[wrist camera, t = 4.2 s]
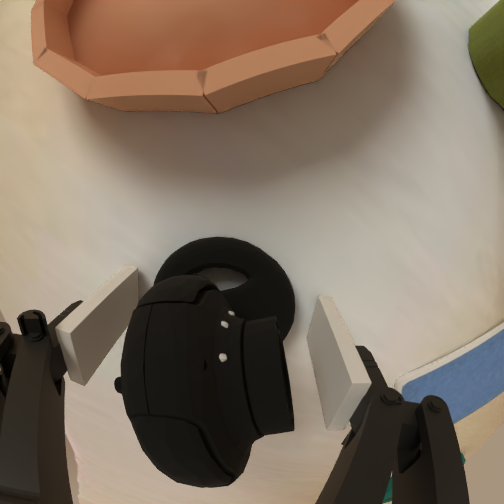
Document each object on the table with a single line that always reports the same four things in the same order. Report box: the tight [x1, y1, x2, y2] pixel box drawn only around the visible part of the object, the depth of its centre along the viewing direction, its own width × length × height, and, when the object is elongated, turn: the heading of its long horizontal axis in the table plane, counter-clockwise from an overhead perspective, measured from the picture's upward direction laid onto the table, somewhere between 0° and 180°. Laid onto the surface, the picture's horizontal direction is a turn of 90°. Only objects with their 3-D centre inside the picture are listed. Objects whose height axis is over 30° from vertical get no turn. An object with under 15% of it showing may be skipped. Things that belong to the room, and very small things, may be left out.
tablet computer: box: [394, 322, 504, 424], centre depth 17 cm, size 19×13×1 cm, turn 108°
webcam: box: [114, 237, 295, 488], centre depth 10 cm, size 8×8×10 cm
